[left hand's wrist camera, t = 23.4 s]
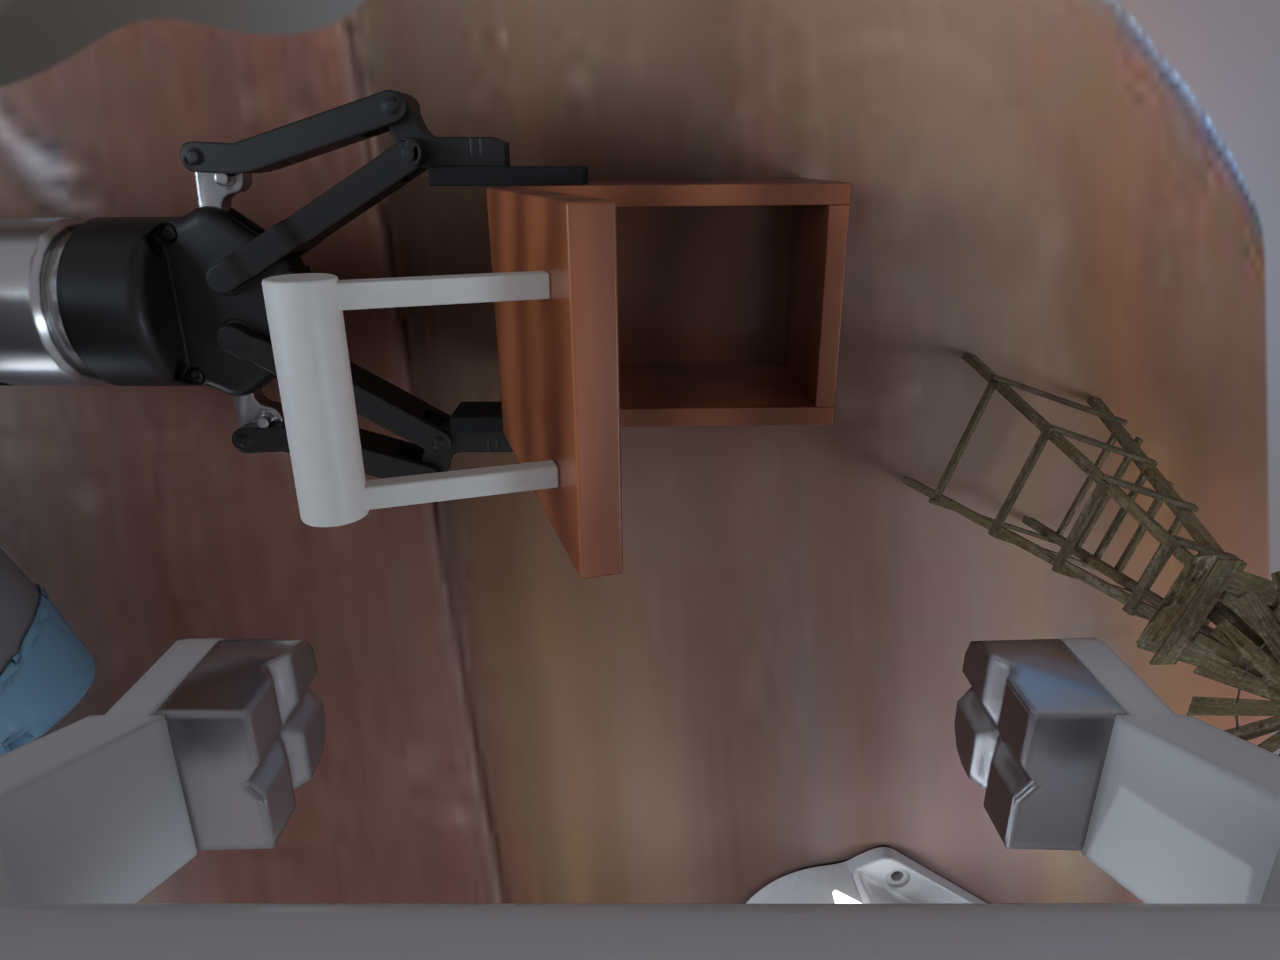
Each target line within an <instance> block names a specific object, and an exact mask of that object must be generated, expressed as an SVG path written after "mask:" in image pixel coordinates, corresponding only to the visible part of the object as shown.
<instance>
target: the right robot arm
mask: <svg viewBox="0 0 1280 960" xmlns="http://www.w3.org/2000/svg"><path fill="white" fill-rule="evenodd" d="M388 131H390V133H391V135H392V137H393V139H394V142H395V145H394V146H392V147H391V148H389V149H388V150H386V151H385V152H384V153H382V154H381V155H379V156H378V157H376V158H375V159H373V160H372V161H370V162H369V163H368V164H366V165H365V166H363V167H362V168H360V169H359V170H357V171H356V172H354V173H353V174H351V175H350V176H349V177H347V178H346V179H344V180H343V181H341V182H340V183H338V184H337V185H335V186H334V187H332V188H331V189H330V190H328V191H327V192H325V193H324V194H322V195H321V196H319V197H318V198H316V199H315V200H313V201H312V202H311V203H309V204H308V205H306V206H305V207H303V208H302V209H300V210H299V211H297V212H296V213H294V214H293V215H292V216H290V217H289V218H287V219H285V220H283V221H281V222H279V223H277V224H275V225H274V226H272V227H271V228H269V229H268V230H264V229H263V228H261V227H260V226H259V225H257V224H256V223H254V222H253V221H251V220H250V219H248V218H247V217H245V216H244V215H242V214H241V213H239V212H238V211H236V210H235V209H233V208H231V201H232V198H233V197H234V196H235V195H236V194H237V193H240V192H244V191H247V190H248V189H249V188H250V187H251V184H252V173H262V172H269V171H273V170H277V169H281V168H283V167H286V166H289V165H292V164H295V163H298V162H301V161H304V160H307V159H310V158H313V157H315V156H318V155H321V154H324V153H327V152H330V151H333V150H336V149H339V148H342V147H345V146H348V145H350V144H353V143H356V142H359V141H362V140H365V139H368V138H371V137H374V136H377V135H380V134H382V133H385V132H388ZM180 158H181V161H182V163H183V164H184V166H185V167H186V168H187V169H189V170H190V171H194V172H195V180H196V188H197V195H198V203H199V208H197V209H195V210H193V211H192V212H191V213H189V214H187V215H185V216H183V217H110V218H93V219H90V220H88V221H85V220H83V219H80V218H0V385H27V386H101V385H105V384H109V383H110V384H114V385H119V386H199V385H203V386H210V387H214V388H217V389H219V390H222V391H223V392H225V393H227V394H230V395H233V398H234V403H235V407H236V411H237V415H238V420H239V424H240V429H238V430H237V431H236V432H234V434H233V436H232V442H233V444H234V446H235V447H236V448H237V449H238V450H239V451H241V452H244V453H257V452H276V451H284V452H288V453H290V451H289V445H288V439H287V433H286V427H285V421H284V415H283V409H282V403H280V402H275V401H271V400H269V399H268V398H266V397H265V396H264V394H263V392H262V390H261V388H262V387H263V386H265V385H266V384H267V383H268V382H270V381H271V380H272V379H273V378H275V377H276V376H277V373H276V367H275V361H274V355H273V349H272V343H271V337H270V331H269V325H268V319H267V313H266V307H265V301H264V295H263V289H262V280H263V279H265V278H267V277H271V276H277V275H286V274H299V273H311V272H310V266H305V264H304V262H303V260H302V258H301V257H300V256H302V255H303V254H305V253H306V252H308V251H309V250H311V249H312V248H314V247H315V246H317V245H318V244H320V243H321V242H322V241H323V240H324V239H325V238H326V237H328V236H329V235H331V234H332V233H334V232H335V231H337V230H338V229H340V228H341V227H343V226H344V225H346V224H347V223H348V222H350V221H351V220H353V219H354V218H356V217H357V216H359V215H360V214H362V213H363V212H365V211H366V210H368V209H369V208H371V207H372V206H374V205H375V204H377V203H378V202H380V201H381V200H383V199H384V198H386V197H387V196H389V195H390V194H392V193H393V192H395V191H396V190H398V189H399V188H401V187H402V186H404V185H405V184H407V183H408V182H409V181H411V180H412V179H414V178H415V177H417V176H418V175H420V174H421V173H423V172H424V171H426V170H427V169H428V174H429V185H430V186H511V185H585V184H587V183H588V166H510V156H509V143H508V142H505V141H503V140H501V139H498V138H494V137H436V136H434V135H433V134H432V133H430V131H429V130H428V129H427V127H426V125H425V123H424V121H423V118H422V116H421V114H420V106H419V103H418V102H417V100H416V99H415V98H414V97H413V96H411V95H408V94H405V93H401V92H398V91H394V90H385V91H382V92H379V93H376V94H374V95H371V96H368V97H365V98H362V99H359V100H356V101H353V102H351V103H348V104H345V105H342V106H339V107H336V108H333V109H331V110H328V111H325V112H322V113H319V114H316V115H313V116H311V117H308V118H305V119H302V120H299V121H296V122H293V123H290V124H288V125H285V126H282V127H279V128H276V129H273V130H270V131H268V132H265V133H262V134H259V135H256V136H253V137H250V138H248V139H245V140H242V141H239V142H236V143H219V142H195V141H192V142H187V143H185V144H184V145H183V146H182V148H181V149H180ZM350 368H351V375H352V383H353V390H354V398H355V405H356V412H357V414H359V415H361V416H363V417H365V418H367V419H369V420H370V421H372V422H374V423H376V424H378V425H380V426H382V427H384V428H386V429H387V430H389V431H391V432H393V433H395V434H397V435H399V436H401V437H403V438H404V439H406V440H408V441H410V442H412V443H410V442H406V441H403V440H399V439H396V438H392V437H388V436H385V435H381V434H378V433H374V432H371V431H367V430H363V429H360V428H359V435H360V442H361V450H362V457H363V464H364V472H365V474H368V475H372V476H375V477H379V478H392V477H401V476H410V475H419V474H428V473H437V472H446V471H448V470H449V468H450V466H451V460H452V456H453V455H454V454H456V453H458V452H512V451H513V449H512V447H511V446H510V444H509V442H508V440H507V438H506V436H505V434H504V432H503V418H502V403H501V402H461V403H460V404H459V406H458V407H457V408H456V410H455V411H454V412H453V414H452V415H451V416H450V415H448V414H446V413H445V412H443V411H441V410H439V409H437V408H435V407H433V406H432V405H430V404H428V403H426V402H424V401H422V400H420V399H419V398H417V397H415V396H413V395H411V394H409V393H408V392H406V391H404V390H402V389H400V388H398V387H396V386H395V385H393V384H391V383H389V382H387V381H385V380H383V379H382V378H380V377H378V376H376V375H374V374H372V373H371V372H369V371H367V370H365V369H363V368H361V367H359V366H358V365H356V364H354V363H352V362H350ZM94 676H95V663H94V660H93V657H92V655H91V653H90V652H89V651H88V649H87V648H86V647H85V645H84V644H83V643H82V641H81V640H80V639H79V637H78V636H77V635H76V633H75V632H74V631H73V629H72V628H71V627H70V626H69V624H68V623H67V622H66V620H65V619H64V618H63V616H62V615H61V614H60V612H59V611H58V610H57V608H56V607H55V606H54V604H53V603H52V602H51V600H50V599H49V596H48V594H47V592H46V590H45V589H43V588H42V587H40V585H39V584H34V583H33V582H32V581H31V580H30V579H29V578H28V577H27V576H26V575H25V574H24V573H23V572H22V571H21V570H20V569H19V567H18V566H17V565H16V564H15V563H14V562H13V561H12V560H11V559H10V558H9V557H8V556H7V555H6V554H5V553H4V552H3V550H2V549H1V548H0V756H1V755H4V754H6V753H8V752H10V751H12V750H15V749H17V748H19V747H21V746H24V745H26V744H28V743H30V742H32V741H34V740H35V739H37V738H39V737H40V736H42V735H43V734H44V733H46V732H47V731H48V730H49V729H51V728H52V727H53V726H54V725H55V724H56V723H57V722H59V721H60V720H61V719H62V718H63V717H64V716H66V715H67V714H68V713H69V712H70V711H71V710H72V709H73V708H74V707H75V706H76V705H77V704H78V703H79V702H80V700H81V699H82V698H83V697H84V695H85V694H86V693H87V691H88V690H89V688H90V687H91V685H92V682H93V680H94Z"/></svg>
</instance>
